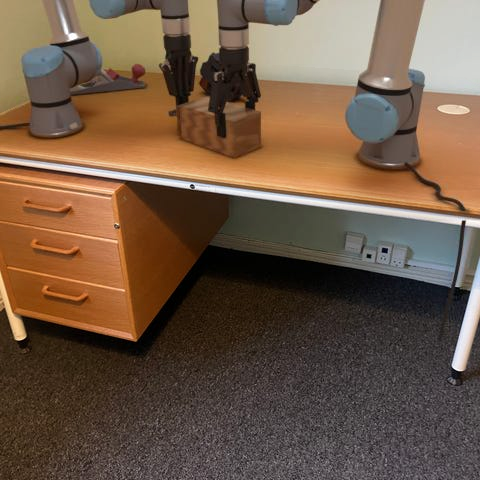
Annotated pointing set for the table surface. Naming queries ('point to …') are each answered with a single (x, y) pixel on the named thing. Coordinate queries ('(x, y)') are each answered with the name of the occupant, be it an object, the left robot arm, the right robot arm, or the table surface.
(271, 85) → the table surface
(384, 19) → the right robot arm
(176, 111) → the drawer
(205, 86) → the tool
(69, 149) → the table surface
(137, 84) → the hand plane
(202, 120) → the wooden grain block
